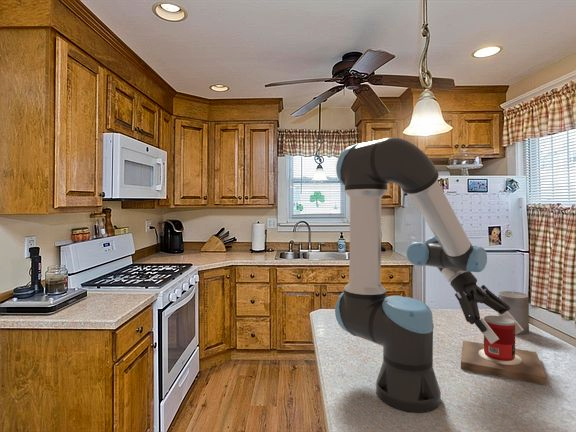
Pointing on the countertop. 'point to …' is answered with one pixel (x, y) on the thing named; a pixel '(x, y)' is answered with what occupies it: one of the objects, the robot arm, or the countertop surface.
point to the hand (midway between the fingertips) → (507, 336)
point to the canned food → (501, 338)
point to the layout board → (503, 363)
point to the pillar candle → (517, 307)
